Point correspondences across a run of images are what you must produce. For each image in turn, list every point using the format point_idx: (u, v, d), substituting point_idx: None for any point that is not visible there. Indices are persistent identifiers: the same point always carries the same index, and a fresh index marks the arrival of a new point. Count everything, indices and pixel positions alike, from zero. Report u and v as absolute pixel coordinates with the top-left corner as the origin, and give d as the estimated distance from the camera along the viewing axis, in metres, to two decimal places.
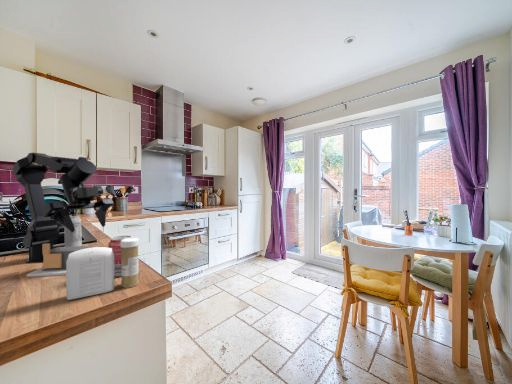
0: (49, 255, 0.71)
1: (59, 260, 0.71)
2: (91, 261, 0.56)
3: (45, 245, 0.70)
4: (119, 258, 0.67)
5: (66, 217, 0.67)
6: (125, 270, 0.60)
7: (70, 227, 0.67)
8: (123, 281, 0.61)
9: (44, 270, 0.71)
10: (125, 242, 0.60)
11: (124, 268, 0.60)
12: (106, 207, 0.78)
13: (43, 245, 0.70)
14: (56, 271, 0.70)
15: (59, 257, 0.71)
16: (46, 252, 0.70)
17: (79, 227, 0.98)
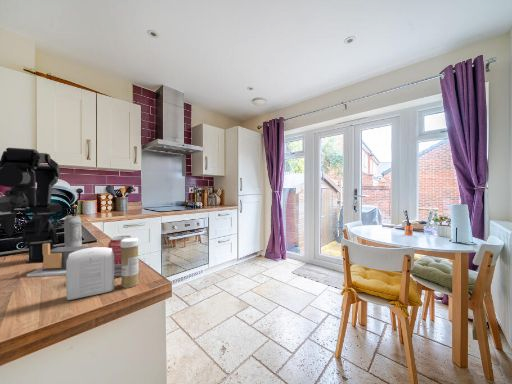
0: (49, 255, 0.71)
1: (59, 260, 0.71)
2: (91, 261, 0.56)
3: (45, 245, 0.70)
4: (119, 258, 0.67)
5: (0, 222, 0.67)
6: (125, 270, 0.60)
7: None
8: (123, 281, 0.61)
9: (44, 270, 0.71)
10: (125, 242, 0.60)
11: (124, 268, 0.60)
12: (37, 216, 0.68)
13: (43, 245, 0.70)
14: (56, 271, 0.70)
15: (59, 257, 0.71)
16: (46, 252, 0.70)
17: (79, 227, 0.98)
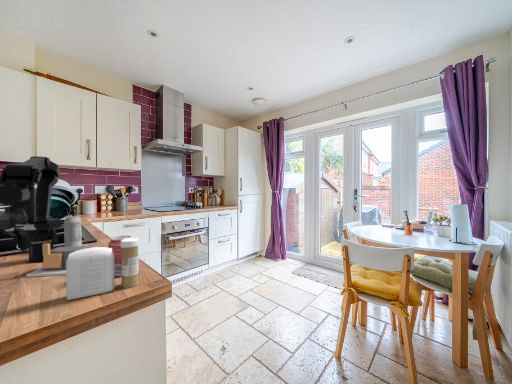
0: (49, 255, 0.71)
1: (59, 260, 0.71)
2: (91, 261, 0.56)
3: (45, 245, 0.70)
4: (119, 258, 0.67)
5: (14, 238, 0.68)
6: (125, 270, 0.60)
7: None
8: (123, 281, 0.61)
9: (44, 270, 0.71)
10: (125, 242, 0.60)
11: (124, 268, 0.60)
12: (23, 233, 0.67)
13: (43, 245, 0.70)
14: (56, 271, 0.70)
15: (59, 257, 0.71)
16: (46, 252, 0.70)
17: (79, 227, 0.98)
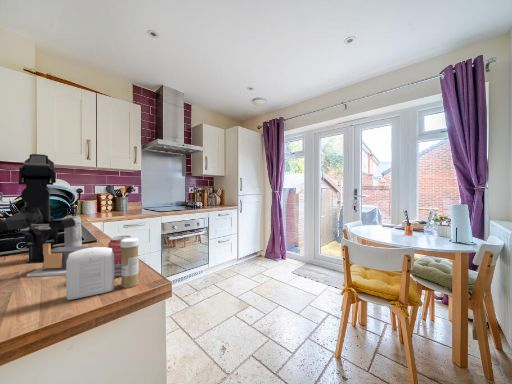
0: (49, 255, 0.71)
1: (59, 260, 0.71)
2: (91, 261, 0.56)
3: (46, 245, 0.70)
4: (119, 258, 0.67)
5: (29, 237, 0.69)
6: (125, 270, 0.60)
7: None
8: (123, 281, 0.61)
9: (44, 270, 0.71)
10: (125, 242, 0.60)
11: (124, 268, 0.60)
12: (38, 232, 0.68)
13: (43, 244, 0.70)
14: (56, 271, 0.70)
15: (60, 257, 0.71)
16: (46, 252, 0.70)
17: (79, 227, 0.98)
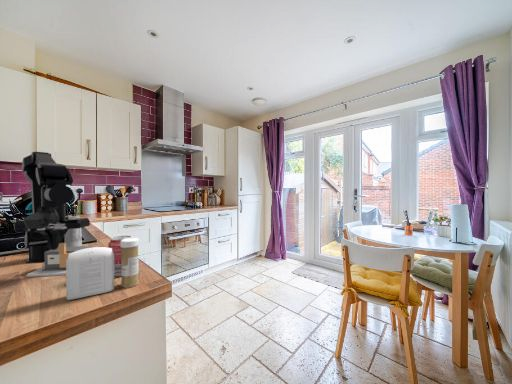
0: (65, 254, 0.72)
1: None
2: (91, 261, 0.56)
3: (62, 245, 0.71)
4: (119, 258, 0.67)
5: (46, 237, 0.69)
6: (125, 270, 0.60)
7: None
8: (123, 281, 0.61)
9: (44, 270, 0.71)
10: (125, 242, 0.60)
11: (124, 268, 0.60)
12: (54, 232, 0.69)
13: (59, 244, 0.71)
14: (56, 271, 0.70)
15: None
16: (62, 251, 0.71)
17: None
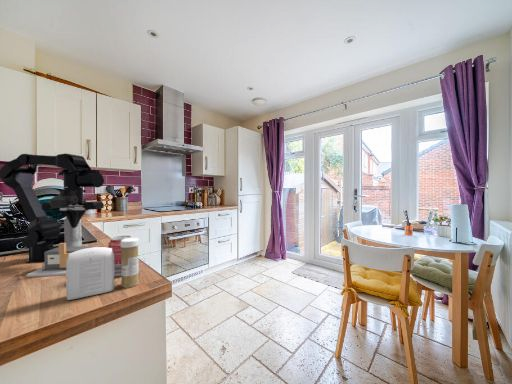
0: (65, 254, 0.72)
1: None
2: (91, 261, 0.56)
3: (62, 245, 0.71)
4: (119, 258, 0.67)
5: (67, 216, 0.81)
6: (125, 270, 0.60)
7: None
8: (123, 281, 0.61)
9: (44, 270, 0.71)
10: (125, 242, 0.60)
11: (124, 268, 0.60)
12: (74, 212, 0.80)
13: (59, 244, 0.71)
14: (56, 271, 0.70)
15: None
16: (62, 251, 0.71)
17: (79, 227, 0.98)
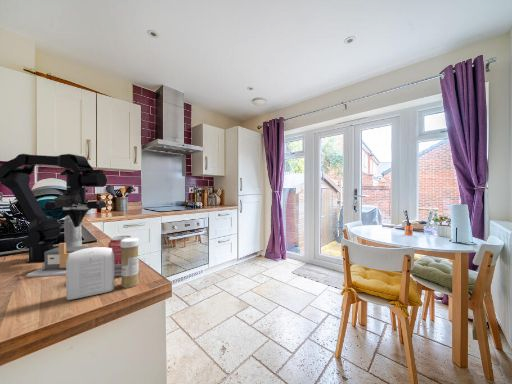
0: (65, 254, 0.72)
1: None
2: (91, 261, 0.56)
3: (62, 245, 0.71)
4: (119, 258, 0.67)
5: (70, 216, 0.82)
6: (125, 270, 0.60)
7: None
8: (123, 281, 0.61)
9: (44, 270, 0.71)
10: (125, 242, 0.60)
11: (124, 268, 0.60)
12: (77, 211, 0.81)
13: (59, 244, 0.71)
14: (56, 271, 0.70)
15: None
16: (62, 251, 0.71)
17: (79, 227, 0.98)
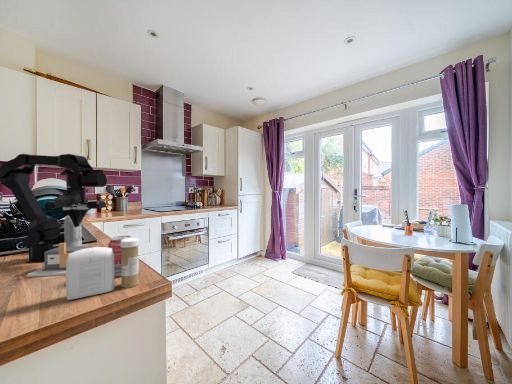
0: (65, 254, 0.72)
1: None
2: (91, 261, 0.56)
3: (62, 245, 0.71)
4: (119, 258, 0.67)
5: (70, 216, 0.82)
6: (125, 270, 0.60)
7: None
8: (123, 281, 0.61)
9: (44, 270, 0.71)
10: (125, 242, 0.60)
11: (124, 268, 0.60)
12: (77, 211, 0.81)
13: (59, 244, 0.71)
14: (56, 271, 0.70)
15: None
16: (62, 251, 0.71)
17: (79, 227, 0.98)
